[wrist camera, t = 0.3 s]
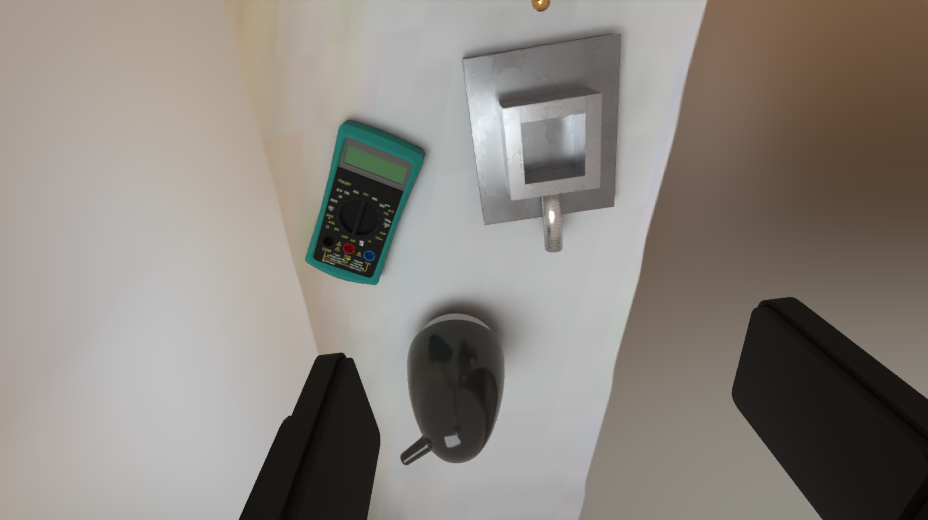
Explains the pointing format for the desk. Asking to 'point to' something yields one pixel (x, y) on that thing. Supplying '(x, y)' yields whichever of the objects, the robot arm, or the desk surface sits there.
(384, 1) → the desk surface
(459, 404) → the pump dispenser
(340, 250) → the digital multimeter
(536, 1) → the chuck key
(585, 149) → the block
